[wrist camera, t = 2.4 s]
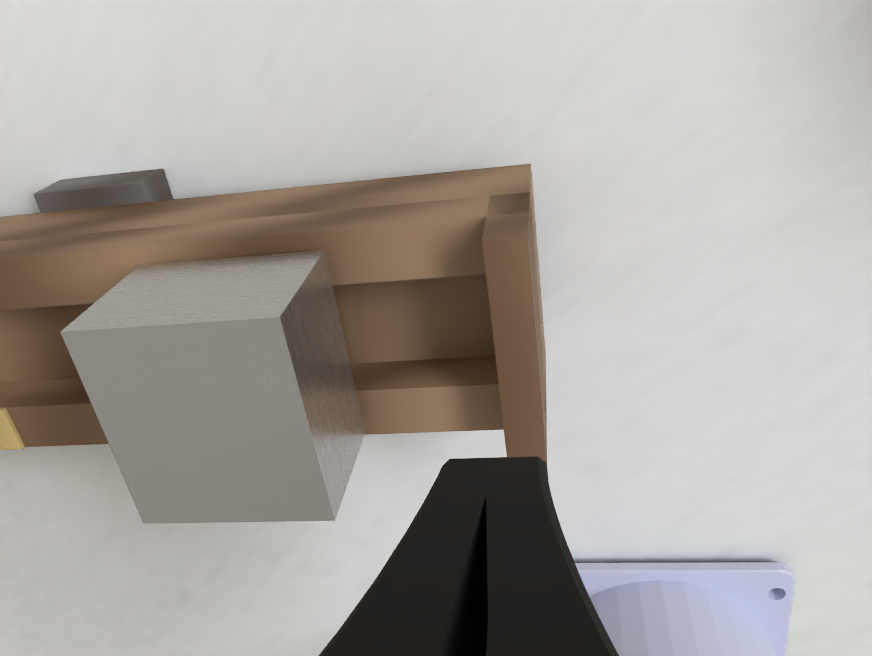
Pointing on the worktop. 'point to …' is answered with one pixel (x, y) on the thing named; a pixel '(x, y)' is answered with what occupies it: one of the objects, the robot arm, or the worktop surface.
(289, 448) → the block
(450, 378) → the beam
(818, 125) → the worktop surface
